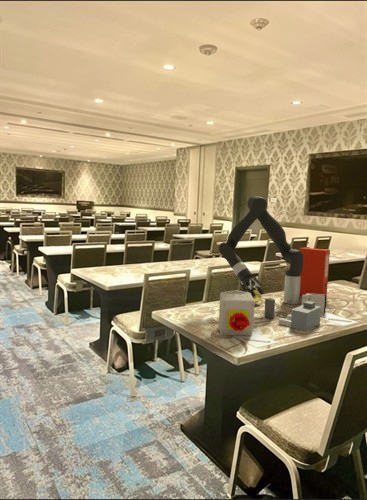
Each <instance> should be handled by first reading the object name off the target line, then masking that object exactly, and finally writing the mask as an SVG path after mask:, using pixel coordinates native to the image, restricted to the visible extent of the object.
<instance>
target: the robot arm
mask: <svg viewBox="0 0 367 500" xmlns="http://www.w3.org/2000/svg"><path fill="white" fill-rule="evenodd" d="M246 206H247V208H248V209H249V210H248V213H247V214H246V215H245V216H244V217H243V218H242V219H240V220H239V221H238V222H237V223H236V225H235V226H234V227H233V228H232V229H231V231H230V232H229V234H228V239H227V240H226V242H225V241H224V242H221V243H219V245H218V252H219V253H220V254H221V256H222V257H223V258H224V260H226V261H227V263H228V265H229V266H230V268H231V269H232V270H233V271H232V272H233V273H234V274H235V276H236V278H238V280H239V281H240V282H239V284H240V286H241V287H242V289H243V292H248V293H251V295H252V297H255V296H256V294H255V293H254V292H253V291H254V290H253V289H252V288H254V289H255V290H256V289H257V292H259V293H260V294H261V295H262V296H263V294H265V291H264V289H262V285H263V284H262V283H261V282H260V281H259V280H258V278H257V277H252V275H253V274H252V272H251V271H250V270H249V267H248V266H247V265H246V264H245V263H244V261H243V260H242V259H241V258H240V256H238V254H236V252H235V250H236V248H237V247H238V243H239V242H240V241H241V239H242V238H243V237H244V235H245V233H246V232H247V231H248V229H250V227H251V226H252V225H253V224H254V222H255V221H256V220H257V221H259V223H260V224H261V226H262V228H263V229H264V231H265V232H266V234H267V235H268V237H269V239H270V240H271V241H272V242H273V244H274V246H275V247H276V248H277V249H278V252H279V253H280V255H281V256H282V259H283V260H284V261H285V262H286V264H289V265H290V266H289V269H286V270H285V275H284V276H285V277H284V294H283V295H284V296H283V303H286V304H289V305H299V304H300V297H301V295H300V282H301V273H302V270H303V262H304V256H303V253H302V252H301V251H299V250H300V249H293V247H291V245H290V244H289V243H288V241H287V234H286V231H285V229H284V228H283V227H282V225H281V224H280V222H279V221H278V220H277V219H276V218H275V217H273V216H272V215H271V214H270V213H269V212H268V211H267V207H268V201H267V199H266V198H264V197H262V196H257V195H253V196H250V197H249V198H248V200H247V205H246Z"/></svg>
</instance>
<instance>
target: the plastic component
mask: <svg viewBox="0 0 367 500" xmlns="http://www.w3.org/2000/svg"><path fill="white" fill-rule="evenodd" d="M253 292H254V293H255V294H256V296H255V297H253V299H254V306H255V305H256V304H257V303H259V302H260V301H262V299H263V294H262V295H261V294H260V293H259V291H258V290H256V289H255V290H253Z"/></svg>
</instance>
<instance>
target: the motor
mask: <svg viewBox="0 0 367 500" xmlns="http://www.w3.org/2000/svg"><path fill="white" fill-rule="evenodd" d="M321 314H322V313H321V307H320V306H315V302H312V301H306V302H304V303H303V305H302V304H301V305H299V306H297V307H295V308H292V309H291V314H287V315H286V319H285V318H278V324H279V325H283V326H286V327H290V328H293V329H297V330H300V331H304V332H307V330H308V331H309V330H311V329H313V328H314V326H315V327H317V326H318V325H320V324H321ZM316 325H317V326H316ZM312 327H313V328H312Z"/></svg>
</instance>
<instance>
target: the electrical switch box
mask: <svg viewBox="0 0 367 500" xmlns="http://www.w3.org/2000/svg"><path fill="white" fill-rule="evenodd" d="M218 310H219V313H218V329H219V332H220V335H222V336H252V335H253V331H254V320H255V305H254V299H253V297H252V295H251V293H249V292H247V291H246V292H245V291H244V290H243V291H242V290H237V289H235V290H229V291H227V290H226V291H221V292H220V293H219V309H218Z"/></svg>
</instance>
